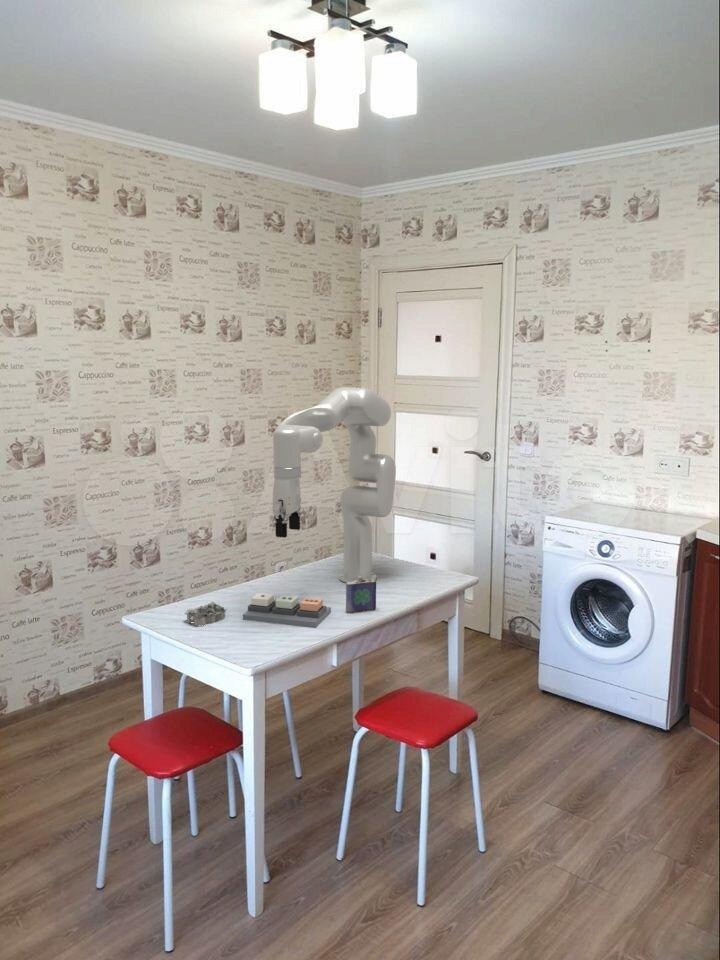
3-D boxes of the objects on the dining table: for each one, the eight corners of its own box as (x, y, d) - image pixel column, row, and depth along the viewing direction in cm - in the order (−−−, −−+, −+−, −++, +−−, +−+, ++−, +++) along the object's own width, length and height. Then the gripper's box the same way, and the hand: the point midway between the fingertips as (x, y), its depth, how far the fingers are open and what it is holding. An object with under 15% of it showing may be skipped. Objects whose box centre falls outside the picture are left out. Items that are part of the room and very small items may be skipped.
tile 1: (258, 599, 223) (258, 592, 222) (274, 600, 221) (274, 593, 221) (251, 604, 218) (251, 597, 218) (267, 606, 216) (267, 599, 216)
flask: (347, 614, 220) (347, 578, 218) (344, 610, 222) (344, 575, 221) (377, 610, 223) (377, 575, 221) (373, 607, 225) (374, 572, 224)
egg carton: (198, 629, 209) (197, 615, 208) (182, 622, 214) (182, 608, 213) (229, 619, 216) (229, 605, 215) (214, 612, 221) (213, 599, 221)
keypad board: (261, 605, 227) (261, 595, 227) (330, 612, 221) (330, 602, 220) (242, 619, 215) (242, 609, 214) (315, 627, 209) (315, 617, 208)
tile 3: (306, 604, 218) (306, 596, 218) (322, 605, 217) (322, 598, 217) (300, 609, 214) (300, 602, 213) (317, 611, 212) (316, 604, 212)
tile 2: (282, 601, 220) (282, 594, 220) (298, 603, 219) (298, 596, 219) (275, 607, 216) (275, 599, 215) (292, 608, 214) (291, 601, 214)
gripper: (286, 468, 219) (287, 525, 222) (262, 477, 203) (263, 539, 206) (311, 469, 217) (311, 527, 220) (288, 478, 201) (288, 541, 204)
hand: (288, 533), depth 213 cm, fingers open, 9 cm apart
